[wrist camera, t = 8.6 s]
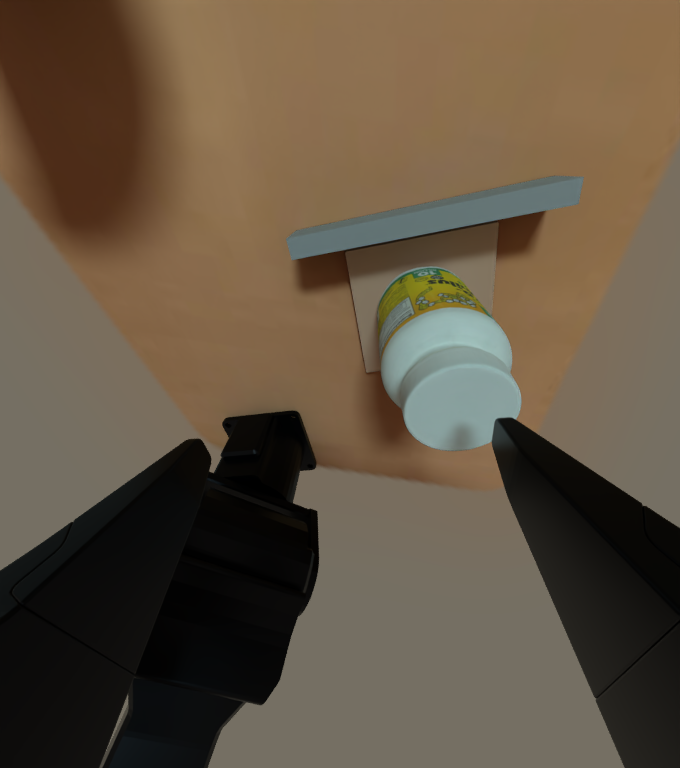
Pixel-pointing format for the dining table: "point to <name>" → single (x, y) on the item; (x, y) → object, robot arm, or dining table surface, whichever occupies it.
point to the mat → (443, 249)
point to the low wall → (437, 216)
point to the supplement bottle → (444, 360)
